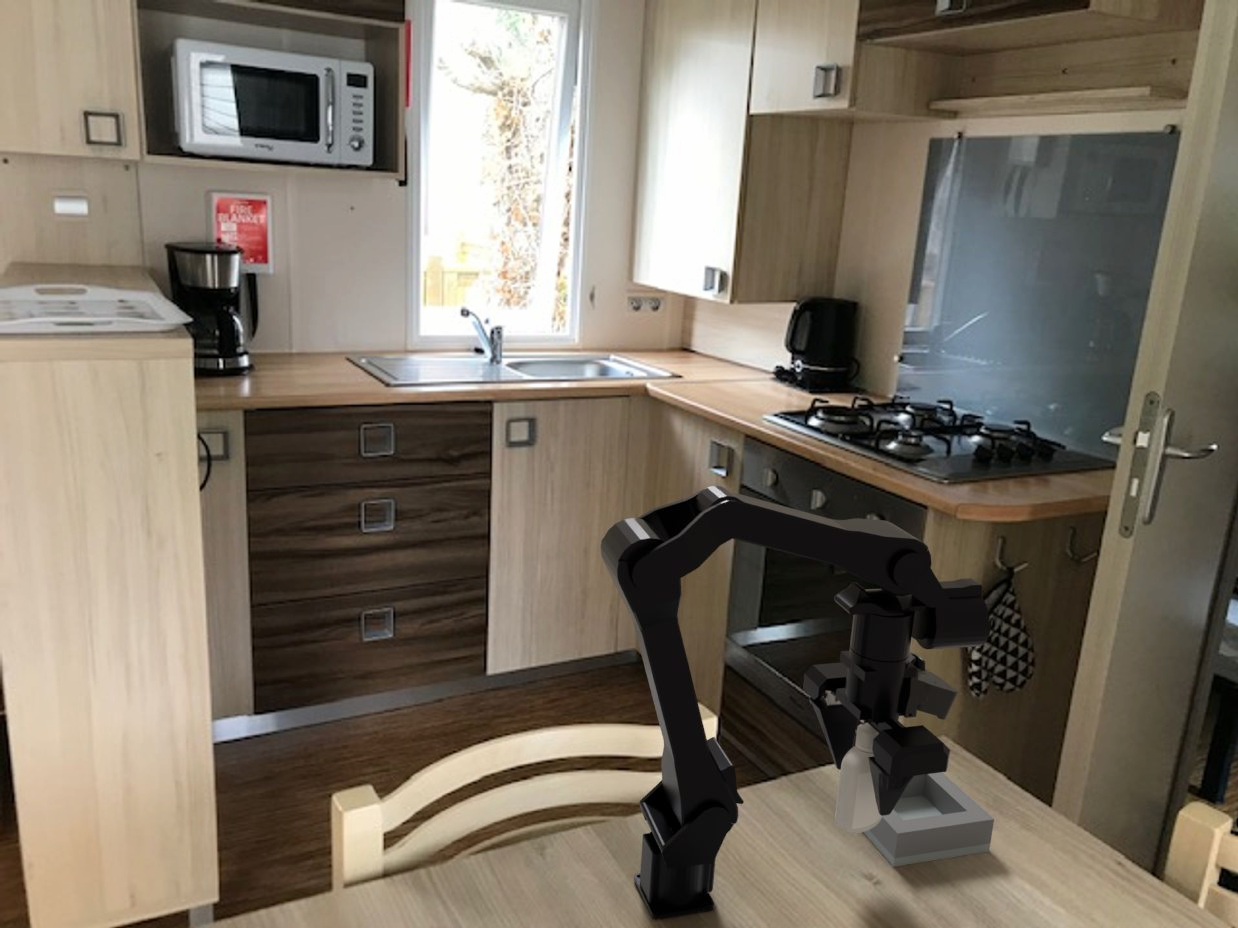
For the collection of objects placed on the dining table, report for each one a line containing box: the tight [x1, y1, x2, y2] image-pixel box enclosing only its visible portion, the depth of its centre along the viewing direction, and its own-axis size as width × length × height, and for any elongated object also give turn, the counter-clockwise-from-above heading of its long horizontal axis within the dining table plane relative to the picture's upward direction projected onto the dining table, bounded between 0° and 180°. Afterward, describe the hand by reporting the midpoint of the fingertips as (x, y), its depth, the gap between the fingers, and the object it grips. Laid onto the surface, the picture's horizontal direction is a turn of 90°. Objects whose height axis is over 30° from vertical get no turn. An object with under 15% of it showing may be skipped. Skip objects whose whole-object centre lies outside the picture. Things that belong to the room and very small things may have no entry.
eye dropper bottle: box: [834, 722, 882, 834], centre depth 103 cm, size 4×6×12 cm
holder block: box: [862, 772, 995, 867], centre depth 114 cm, size 12×12×4 cm
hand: (862, 790), depth 104 cm, fingers closed on eye dropper bottle, 8 cm apart
